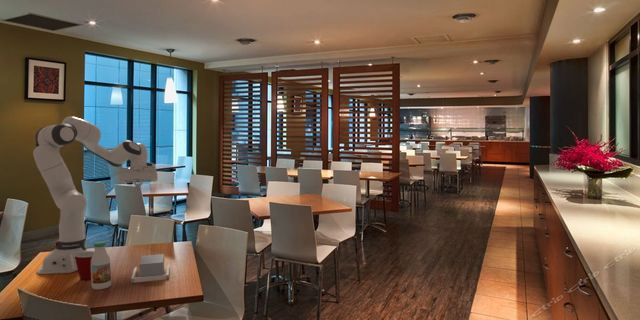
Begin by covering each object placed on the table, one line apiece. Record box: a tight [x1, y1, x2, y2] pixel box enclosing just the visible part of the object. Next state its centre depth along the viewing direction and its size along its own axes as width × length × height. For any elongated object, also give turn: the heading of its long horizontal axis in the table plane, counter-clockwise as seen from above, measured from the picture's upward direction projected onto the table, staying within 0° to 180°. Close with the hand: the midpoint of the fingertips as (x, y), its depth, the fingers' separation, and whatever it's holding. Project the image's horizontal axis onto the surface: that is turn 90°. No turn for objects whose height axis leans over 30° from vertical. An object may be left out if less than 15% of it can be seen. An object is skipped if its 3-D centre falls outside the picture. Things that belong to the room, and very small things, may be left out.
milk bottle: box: [90, 240, 112, 291], centre depth 196 cm, size 8×8×20 cm
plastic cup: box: [74, 250, 95, 281], centre depth 207 cm, size 11×11×12 cm
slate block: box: [139, 253, 165, 277], centre depth 211 cm, size 10×14×8 cm
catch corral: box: [130, 263, 170, 284], centre depth 212 cm, size 16×17×2 cm
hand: (137, 187), depth 243 cm, fingers closed
